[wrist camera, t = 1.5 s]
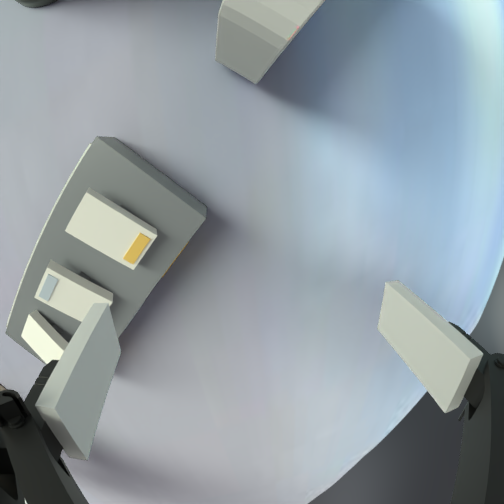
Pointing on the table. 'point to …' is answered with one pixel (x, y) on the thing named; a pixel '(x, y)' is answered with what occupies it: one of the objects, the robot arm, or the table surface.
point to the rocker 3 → (70, 291)
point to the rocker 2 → (111, 229)
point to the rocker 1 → (43, 338)
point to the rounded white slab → (258, 32)
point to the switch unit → (95, 262)
